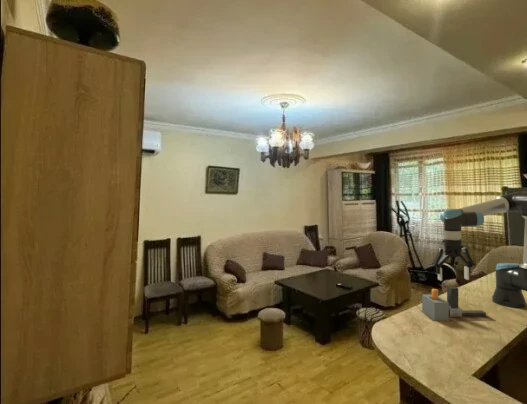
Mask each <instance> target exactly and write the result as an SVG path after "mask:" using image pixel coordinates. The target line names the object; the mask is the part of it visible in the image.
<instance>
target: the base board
mask: <svg viewBox="0 0 527 404" xmlns="http://www.w3.org/2000/svg"><path fill="white" fill-rule="evenodd" d="M420 312H421V313H422V314H423V315H425V316H426V317H427V318H428V319H430V320H431V321H433V322H450V321H451V322H475V321H476V322H487V321H488V322H491V321H492V322H495V321H497V320H496V319H495V318H492V317H491V316H489V315H487V314H486V317H449V320H433V319H432V318H431V317H429V316H428V315H427V314H426V313H424V312H423V311H422V310H420Z"/></svg>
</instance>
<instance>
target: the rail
mask: <svg viewBox="0 0 527 404" xmlns="http://www.w3.org/2000/svg"><path fill="white" fill-rule="evenodd" d="M486 315H487V312H485V311H484V310H480V309H479V310H478V309H477V310H476V309H475V310H467V309H466V310H465V309H464V310H463V309H462V317H486Z"/></svg>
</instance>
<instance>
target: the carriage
mask: <svg viewBox="0 0 527 404" xmlns="http://www.w3.org/2000/svg"><path fill="white" fill-rule="evenodd" d="M446 301H447V302H449V317H462V310H463V308H462V307H461V306H459V288H458V287H457V286H454V285H453V286H452V285H451V286H450V285H448V286H446Z"/></svg>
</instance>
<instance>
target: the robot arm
mask: <svg viewBox="0 0 527 404" xmlns="http://www.w3.org/2000/svg"><path fill="white" fill-rule="evenodd" d="M498 213H500V214H501V213H502V214H505V213H521V217H522V218H524V231H523V232H524V234H523V235H524V238H523V254H522V255H523V258H522V259H523V260H522V263H516V262H515V263H514V262H499V263H497V264H496V268H495V289H494V291H493V294H492V297H491V298H492V299H491V300H492V302H494V303H496V304H497V305H502V306H505V307H511V308H525V307H526V306H527V303H526V298H525V297H524V293H523V291H525V292H527V191H515V192H512V193H511V192H510V193H507V194H504V195H500V196H496V197H495V198H494V199H492V200H487V201H483V202H480V203H476V204H472V205H468V206H464V207H463V206H462V207H460V208H446V209H444V210H443V211H441V213H440V215H439V218H440V219H439V220H440V221H441V222H442V223H443V230H444V231H443V235H444V236H443V237H444V239H443V243H444V247H443V248H440V247H438V248H437V253H436V255H435V257H434V259H433V261H432V263H431V265H432V266H433V267H435V273H436V274H437V280H438V281H440V282H442V281H443V268H442V266H443V265H444V264H445V263H446V261H447V260H448V259H450V258H458V259H459V260H460V261H461V262H462V263H463V264H464V266H463V276H464V277H463V279H465V280H467V281H470V274H471V268H472V267H474V266H475V265H476V264H475V262H474V260H473V259H472V257H471V255H470V253H469V248H467V247H464V246H463V247H462V244H463V243H462V228H463V227H465V228H466V227H479V226H480V227H481V226H482V225H483V224H484V223H485V217H487V216H490V215H494V214H498ZM462 253H463V255H464V256H463V255H462ZM524 306H525V307H524Z"/></svg>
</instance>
